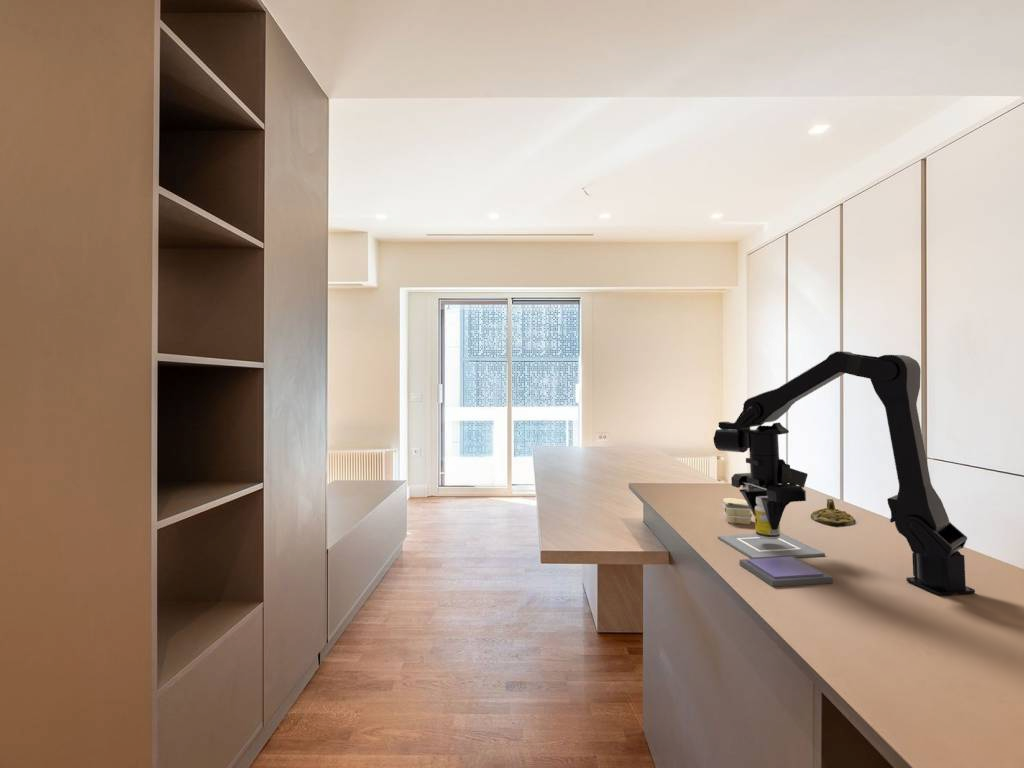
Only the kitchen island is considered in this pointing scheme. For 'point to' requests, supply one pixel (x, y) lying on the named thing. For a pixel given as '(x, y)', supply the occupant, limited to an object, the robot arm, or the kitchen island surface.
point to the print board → (769, 546)
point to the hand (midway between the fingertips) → (767, 526)
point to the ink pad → (785, 571)
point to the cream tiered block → (737, 511)
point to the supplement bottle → (764, 522)
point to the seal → (832, 516)
